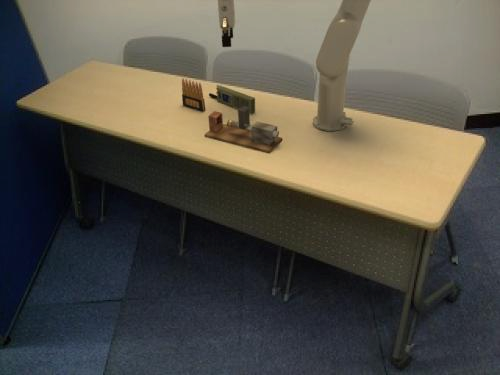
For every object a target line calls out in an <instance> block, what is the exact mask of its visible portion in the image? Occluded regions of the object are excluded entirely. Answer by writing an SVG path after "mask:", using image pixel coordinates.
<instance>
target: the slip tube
mask: <svg viewBox="0 0 500 375" xmlns="http://www.w3.org/2000/svg"><path fill="white" fill-rule="evenodd" d="M237 112H238V114H237V115H238V121H236V120H233V119H228V120H227V121H226V124H227V126H229V127H233V128H238V129H242V130H246V131H250V132H252V130H251V126H252V125H253V124H251V122H250V121H251V119H250V117H251V116H250V115H251V114H249V107H246V106H243V107H241V108H240V109H237ZM279 135H280V132H279V130H277V131H276V130H274V131H273V137H275V138H277V137H280V136H279Z"/></svg>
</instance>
